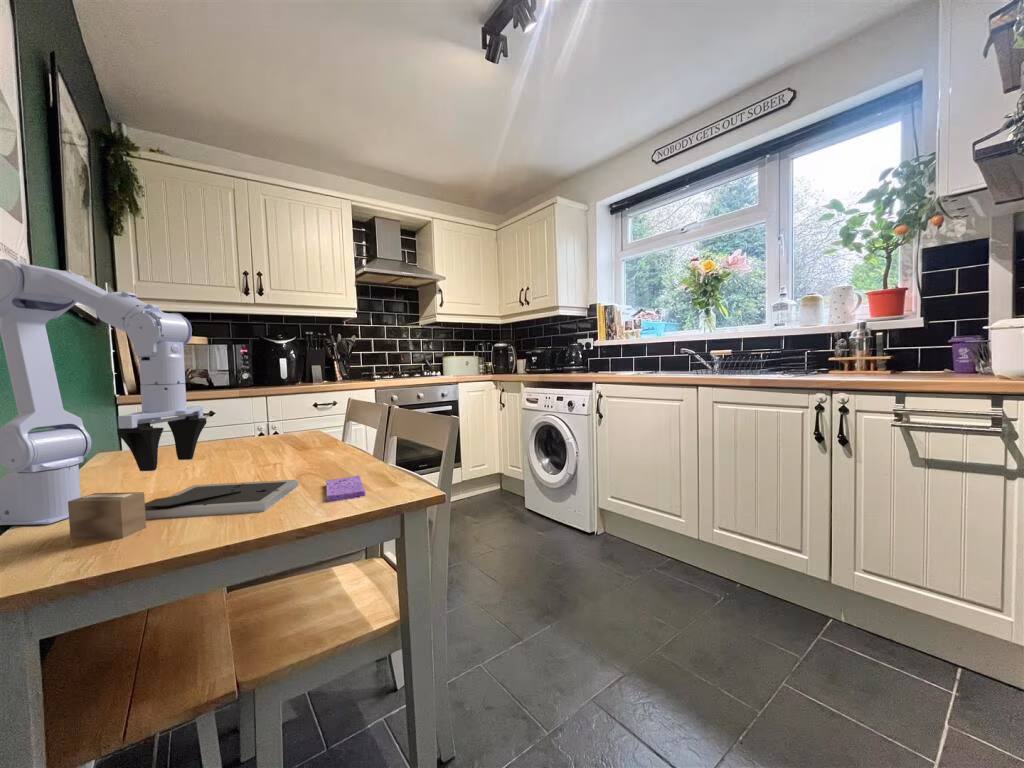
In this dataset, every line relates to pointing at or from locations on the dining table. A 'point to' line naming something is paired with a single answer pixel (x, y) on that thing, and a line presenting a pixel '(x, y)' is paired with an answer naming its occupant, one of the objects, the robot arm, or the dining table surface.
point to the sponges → (344, 488)
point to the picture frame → (220, 499)
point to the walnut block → (107, 515)
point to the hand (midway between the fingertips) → (167, 464)
